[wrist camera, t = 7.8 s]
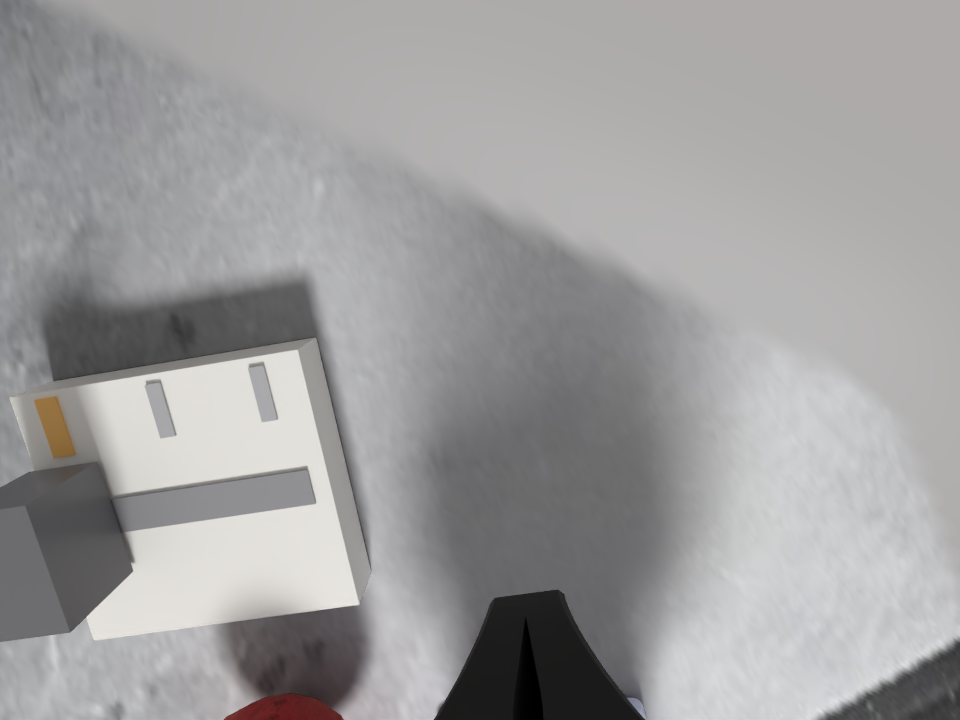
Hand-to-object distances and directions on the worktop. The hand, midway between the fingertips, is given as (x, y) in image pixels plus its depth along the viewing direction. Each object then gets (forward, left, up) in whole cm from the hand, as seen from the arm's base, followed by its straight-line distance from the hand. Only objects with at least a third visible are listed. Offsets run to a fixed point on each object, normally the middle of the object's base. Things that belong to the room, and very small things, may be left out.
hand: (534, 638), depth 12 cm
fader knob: (0, +15, -8) cm, 17 cm away
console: (0, +11, -10) cm, 15 cm away
